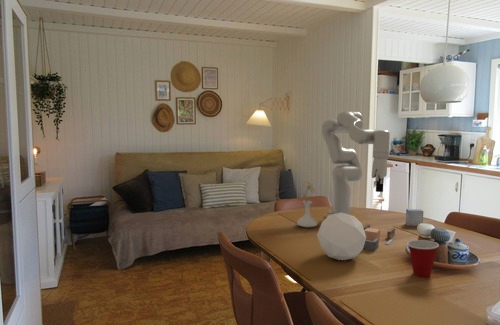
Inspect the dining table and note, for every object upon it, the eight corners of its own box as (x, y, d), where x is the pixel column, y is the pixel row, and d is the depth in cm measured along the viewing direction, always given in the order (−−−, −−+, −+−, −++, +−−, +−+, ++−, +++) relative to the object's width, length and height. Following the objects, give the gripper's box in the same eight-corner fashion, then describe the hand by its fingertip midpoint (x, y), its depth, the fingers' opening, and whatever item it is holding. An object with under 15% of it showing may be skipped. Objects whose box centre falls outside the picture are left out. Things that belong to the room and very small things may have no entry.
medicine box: (420, 224, 208) (420, 208, 207) (423, 226, 203) (423, 210, 202) (405, 223, 208) (406, 208, 207) (408, 226, 204) (408, 210, 203)
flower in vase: (319, 229, 198) (319, 182, 196) (297, 229, 199) (298, 182, 196) (315, 222, 211) (316, 179, 209) (295, 222, 212) (295, 179, 209)
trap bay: (347, 246, 171) (348, 237, 171) (352, 242, 176) (352, 234, 175) (374, 251, 164) (374, 242, 164) (378, 247, 169) (378, 238, 169)
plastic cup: (410, 266, 147) (411, 236, 146) (440, 273, 140) (442, 242, 139) (401, 274, 138) (402, 243, 137) (433, 282, 132) (434, 249, 130)
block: (363, 240, 179) (363, 230, 179) (367, 237, 184) (367, 227, 184) (376, 242, 176) (376, 232, 175) (379, 239, 181) (380, 229, 180)
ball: (327, 272, 158) (303, 230, 164) (364, 250, 164) (339, 211, 170) (343, 266, 141) (315, 219, 147) (383, 242, 147) (355, 198, 153)
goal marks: (352, 238, 183) (352, 237, 183) (357, 234, 189) (357, 233, 189) (388, 244, 173) (388, 244, 173) (392, 240, 179) (392, 239, 179)
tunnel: (361, 234, 189) (362, 227, 189) (367, 230, 196) (367, 223, 196) (390, 238, 181) (390, 231, 181) (394, 234, 188) (394, 228, 187)
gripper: (377, 153, 193) (376, 188, 195) (368, 156, 181) (367, 193, 183) (392, 154, 188) (391, 190, 191) (384, 156, 176) (382, 194, 178)
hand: (379, 191), depth 187 cm, fingers closed
